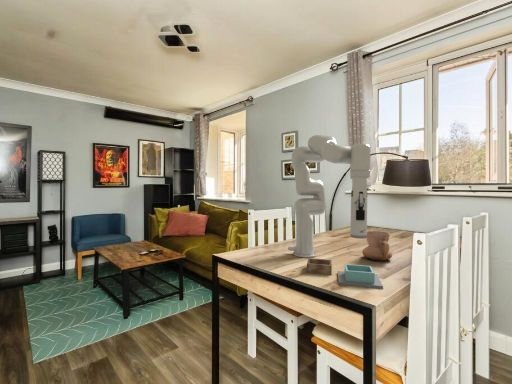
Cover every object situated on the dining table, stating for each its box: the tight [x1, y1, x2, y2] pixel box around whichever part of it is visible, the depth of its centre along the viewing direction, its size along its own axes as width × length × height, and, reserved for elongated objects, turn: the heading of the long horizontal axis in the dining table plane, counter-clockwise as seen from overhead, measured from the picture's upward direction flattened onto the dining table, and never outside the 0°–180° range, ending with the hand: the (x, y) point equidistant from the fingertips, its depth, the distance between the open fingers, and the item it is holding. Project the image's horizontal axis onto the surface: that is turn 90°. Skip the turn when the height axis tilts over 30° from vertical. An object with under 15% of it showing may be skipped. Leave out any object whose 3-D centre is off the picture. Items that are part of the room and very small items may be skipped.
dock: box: [337, 263, 384, 290], centre depth 112 cm, size 16×14×5 cm
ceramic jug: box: [361, 230, 393, 262], centre depth 144 cm, size 18×14×14 cm
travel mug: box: [350, 187, 369, 240], centre depth 111 cm, size 6×7×20 cm
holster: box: [306, 257, 333, 276], centre depth 125 cm, size 11×10×4 cm
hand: (359, 218), depth 111 cm, fingers closed on travel mug, 6 cm apart
